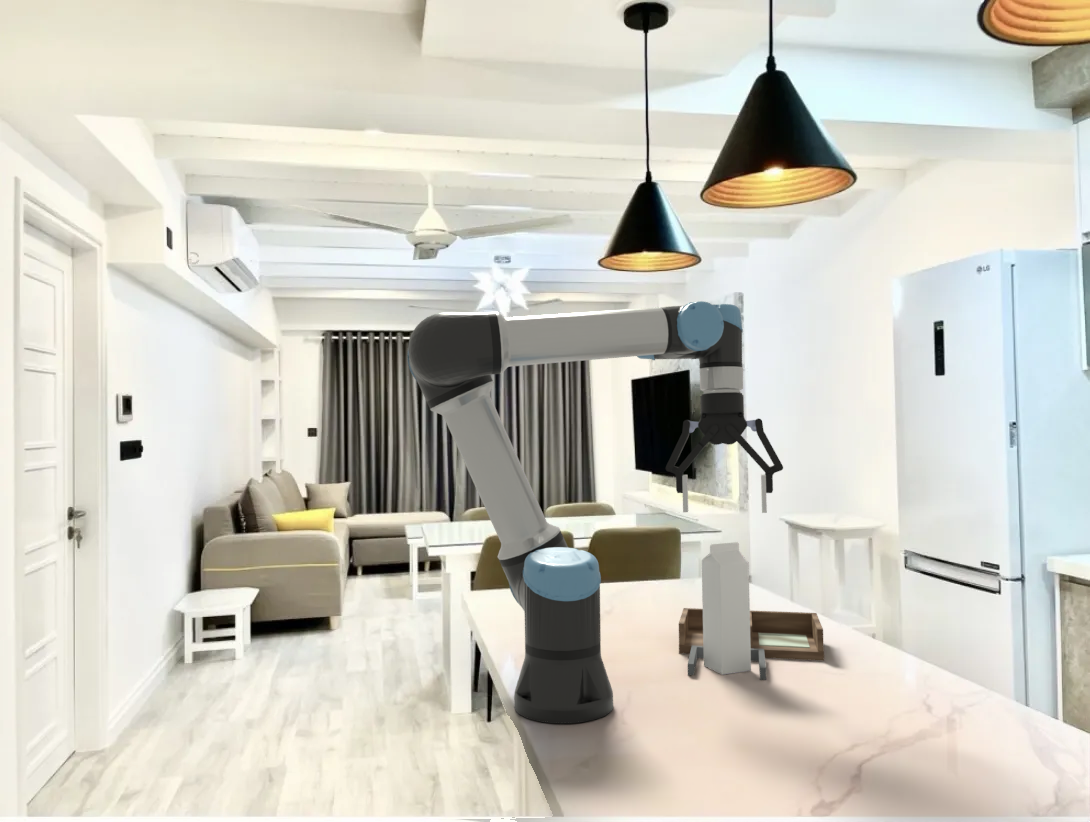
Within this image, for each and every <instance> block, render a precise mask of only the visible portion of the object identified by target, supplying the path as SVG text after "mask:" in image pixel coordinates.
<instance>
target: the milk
mask: <svg viewBox="0 0 1090 822" xmlns="http://www.w3.org/2000/svg"><path fill="white" fill-rule="evenodd" d="M701 591H702V592H701V594H702V596H701V597H702V600H701V601H702V609H703V653H704V658H703V666H704V667H706V668H707V667H708V669H709V668H710V670H711V669H712V670H711V671H713V670H714V672H716V673H718V674H719V675H721V676H722V675H732V674H737V673H746V672H751V671H752V661H751V645H750V611H751V609H750V608H751V605H750V599H751V598H750V564H749V561H748V560H747V558H746V557H745V556H744V555H743V554H742V552H741V551H740V544H739V542H738V541H737V542H736V541H735V542H723V543H722V542H720V543H711V544H710V545H709V553H707V555H706V556H705V557H703V558H702V559H701Z"/></svg>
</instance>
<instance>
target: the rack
mask: <svg viewBox="0 0 1090 822" xmlns="http://www.w3.org/2000/svg"><path fill="white" fill-rule="evenodd" d="M692 645H693V646H703V608H695V607H693V608H691V607H690V608H688V607H683V608H682V612H681V615H680V618H679V621H678V654H682V653H686V654H687V655H690V651H691V647H692ZM750 645H751V648H755V649H764V653H765V659H781V660H782V659H783V660H785V659H786V660H801V661H802V660H803V661H804V660H805V661H819V662H820V661H825V652H824V628H823V625H822V623H821V621H820V618H819V616H818V614H817V612H801V611H800V612H799V611H797V612H796V611H774V610H772V611H770V610H750Z"/></svg>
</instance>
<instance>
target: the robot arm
mask: <svg viewBox="0 0 1090 822" xmlns="http://www.w3.org/2000/svg"><path fill="white" fill-rule="evenodd" d="M742 321H743V320H742V313H741V310H740V308H739V306H737V305H734V304H731V303H730V304H728V303H717V304H714V303H713V304H712V303H710V302H708V301H703V300H701V301H699V300H698V301H693V302H692V301H690V302H688V303H686V304H684V305H673V306H662V307H659V306H657V307H643V308H642V307H641V308H628V309H613V310H612V309H611V310H600V311H599V310H598V311H584V312H582V311H581V312H571V313H569V312H568V313H558V314H557V313H556V314H541V315H539V314H538V315H525V316H524V315H523V316H513V317H511V316H510V317H509V316H508V317H505V316H503V315H502V314H500V312H498V311H486V312H485V311H484V312H483V311H478V312H477V311H476V312H472V311H471V312H469V311H468V312H465V311H463V312H462V311H461V312H456V311H450V312H449V311H448V312H447V311H446V312H439V313H434V314H431V315H429V316H427V317H426V318H424V319H422V320H421V321H420V322H419V323H418V324H417V325H416V326H415V328H413V331H412V333H411V335H410V338H409V341H408V347H407V348H408V349H407V364H408V369H409V371H410V373H411V375H412V377H413V378H414V379H415V380H416V382H417V383H418V386H419V389H420V390H421V393H422V395H423V397H424V399H425V400H426V403H427V405H428V407H429V410H430V411H431V412H433V413H435V414H439V415H441V416H442V417H443V420H444V422H445V423H446V425H447V428H448V430H449V432H450V434H451V436H452V438H453V439H452V440H454V443H455V445H456V448H457V449H458V451H459V454H460V455H461V458H462V460H463V463H464V465H465V467H466V470H467V472H468V474H469V475H470V477H471V481H472V482H473V485H474V486H475V489H476V491H477V493H478V495H479V498H480V500H481V502H482V504H483V507H484V509H485V511H486V513H487V515H488V518H489V520H490V522H491V524H492V527H493V528H494V529H493V530H494V531H495V532H496V535H497V537H498V539H499V542H500V549H499V551H498V555H497V559H498V561H499V563H500V566H501V568H502V570H503V572H504V575H505V576H506V580H507V581H508V584H509V589H510V592H511V594H512V596H513V599H514V600H515V601H516V603H517V604H518V605H519V606H520V607H521V608H522V610H523V611H524V612H523V613H524V651H525V652H524V658H523V659H524V660H523V662H522V666H521V669H520V673H519V675H518V679H517V683H516V686H515V690H514V696H513V698H514V701H513V702H514V703H513V704H514V711H516V713H517V714H519V715H520V716H521V717H524V718H526V719H529V720H533V721H536V722H541V723H546V724H547V723H549V724H578V723H584V722H590V721H594V720H597V719H600V718H603V717H605V716H606V715H608V714H610V713H611V712H612V711H613V709H614V692H613V691H614V690H613V689H612V685H611V682H610V680H609V677H608V673H607V670H606V667H605V664H604V661H603V657H602V651H601V650H602V648H601V641H602V640H601V639H602V638H601V637H602V636H601V588H600V587H601V582H602V579H601V578H602V576H601V572H600V565H599V564H600V563H599V562H598V559H597V558H596V556H595V555H593V554H592V553H591V552H588V551H586V550H582V549H580V550H579V549H578V548H574V547H569V546H568V544H567V542H566V540H565V538H564V536H563V533H562V531H561V528H560V527H559V526H556V525H553V524H551V523H549V522H548V521H547V519H546V516H545V514H544V513H543V511H542V508H541V506H540V504H539V502H538V500H537V497H536V495H535V493H534V491H533V488H532V486H531V484H530V481H529V479H528V477H527V475H526V473H525V470H524V468H523V466H522V464H521V461H520V459H519V457H518V455H517V453H516V451H515V448H514V446H513V443H512V442H511V439H510V437H509V435H508V433H507V431H506V428H505V425H504V424H503V422H502V420H501V417H500V415H499V413H498V410H497V409H496V406H495V404H494V402H493V400H492V398H491V391H492V388H493V385H494V380H493V378H492V375H502V374H503V373H504V372H505V371H506V370H507V368H509V367H521V366H523V367H524V366H532V365H533V366H535V365H544V364H546V365H547V364H555V363H556V364H558V363H568V362H569V363H570V362H582V361H592V360H593V361H594V360H595V361H596V360H603V359H605V360H606V359H618V358H619V359H620V358H629V357H630V358H631V357H632V358H633V357H637V358H638V359H641V360H652V361H656V360H686V359H688V360H689V359H691V360H697V359H698V360H699V365H698V366H699V367H698V368H699V390H700V391H702V392H703V393H702V394H701V395H700V396H699V399H700V419H699V421H694V420H693V421H692V420H689V419H685V420H684V421H683V422H682V433H681V435H680V436H679V438H678V441H677V443H676V444H675V446H674V449H673V451H672V453H671V455H670V457H669V460H668V461H667V463H666V466H665V470H666V472H669V473H671V474H674V475H675V482H676V484H675V486H676V487H675V489H676V492H677V494H682V513H689V487H688V485H689V484H688V482H689V479H688V474H684V472H685V471H687V469H688V468H689V467H690V465H691V464H692V463H693V462H694V460H695V459H696V458H697V457H698V455H699V454H700V453H701V452H702V451H703V450H704V448H705V447H706V446H707V445H708V444H709V443H710V444H712V445H715V446H717V445H718V446H719V445H721V444H722V445H723V444H724V445H734V444H735V443H738V445H740V446H741V448H743V450H744V451H745V452H746V453H747V455H749V456H750V457H751V459H753V461H754V462H755V464H757V466H759V468H760V469H762V470H763V472H764V473H763V474H762V473H761V474H760V486H761V487H760V490H761V496H760V497H761V513H762V514H766V513H767V511H768V510H767V509H768V507H767V506H768V505H767V503H768V502H767V494H772V493H773V491H774V483H773V480H774V479H773V476H774V475H775V473H778V472H781V471H782V470H783V469H784V465H783V464H782V462H781V460H780V458H779V456H778V454H777V453H776V451H775V449H774V447H773V446H772V444H771V442H770V440H769V439H768V436H767V435H766V433H765V431H764V425H763V420H762V419H761V418H756V419H751V420H746V418H745V409H744V407H745V406H744V404H745V403H744V401H745V400H744V398H745V397H744V394H743V393H742V392H741V391H742V390H743V389H744V368H743V332H744V331H743V325H742V324H743V322H742ZM747 427H749V428H750V429H751V431H752V432H756V435H757V436H758V439H759V440H760V442H761V444H762V446H763V447H764V449H765V451H766V453H767V455H768V457H769V458H770V461H771V463H773V465H771V466H770V465H769V464H768V463H767V462H766V461H765V460H764V459H763V457H762V456H760V455H759V453H758V452H757V451H756V450H755V449H754V447H752V446H751V445H750V444H749V442H748V440H746V439H745V438H744V437H743V436H742V434H743V433H744V431H745V430H746V429H747ZM697 428H698V429H699V431H700V432H701V433H702V435H703V437H702V438H701V439H700V440H699V442H698V443H697V444H696V446H694V448H693V449H692V450H691V451H690V453H689V454H688V455H687V456H686V458H685V459H684V460H683V461H682V462H681V464H680V465H679V466H676V463H677V462H678V460H679V458H680V456H681V453H682V451H683V449H684V447H685V445H686V443H687V441H688V439H689V436H690V434H691V433H694V431H695V429H697Z"/></svg>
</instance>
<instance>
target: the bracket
mask: <svg viewBox="0 0 1090 822" xmlns="http://www.w3.org/2000/svg"><path fill="white" fill-rule="evenodd" d="M688 655H689V657H688V661H687V676H689V675H694V676H695V672H694V671H696V666H697V660H698V659H704V653H703V646H693V645H692V647H691V651H690V654H688ZM751 662H758V669H759V680H760V681H762V680H763V681H766V680H767V664H766V658H765V653H764V649H755V648H751Z"/></svg>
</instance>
